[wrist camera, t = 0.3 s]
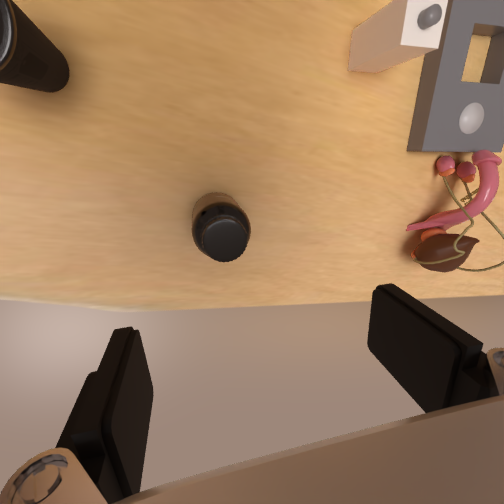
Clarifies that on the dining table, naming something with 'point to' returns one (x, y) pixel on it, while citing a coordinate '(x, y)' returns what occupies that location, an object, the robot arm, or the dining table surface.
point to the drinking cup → (28, 53)
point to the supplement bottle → (220, 227)
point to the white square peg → (396, 34)
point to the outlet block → (462, 84)
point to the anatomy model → (458, 215)
